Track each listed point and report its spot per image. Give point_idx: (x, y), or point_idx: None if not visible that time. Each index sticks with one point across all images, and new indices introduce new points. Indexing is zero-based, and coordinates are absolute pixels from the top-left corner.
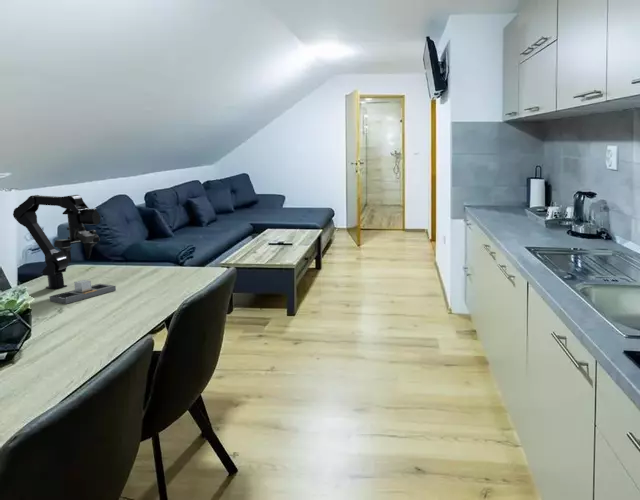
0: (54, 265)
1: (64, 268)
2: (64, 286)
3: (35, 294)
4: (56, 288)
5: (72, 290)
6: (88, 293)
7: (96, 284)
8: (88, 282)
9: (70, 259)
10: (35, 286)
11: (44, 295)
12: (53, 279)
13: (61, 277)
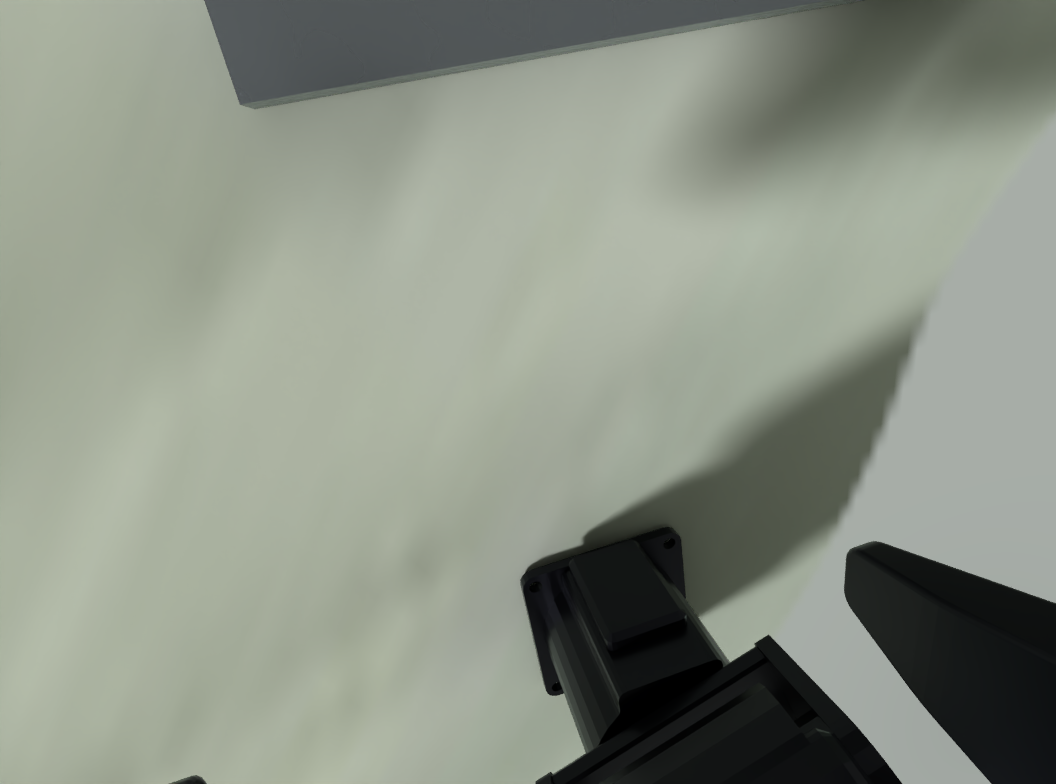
0: (875, 751)
1: (604, 781)
2: (558, 565)
3: (861, 466)
4: (653, 535)
5: (785, 6)
6: None
7: (319, 80)
8: None
9: (963, 587)
10: None
11: (856, 356)
12: (705, 635)
13: (634, 631)
